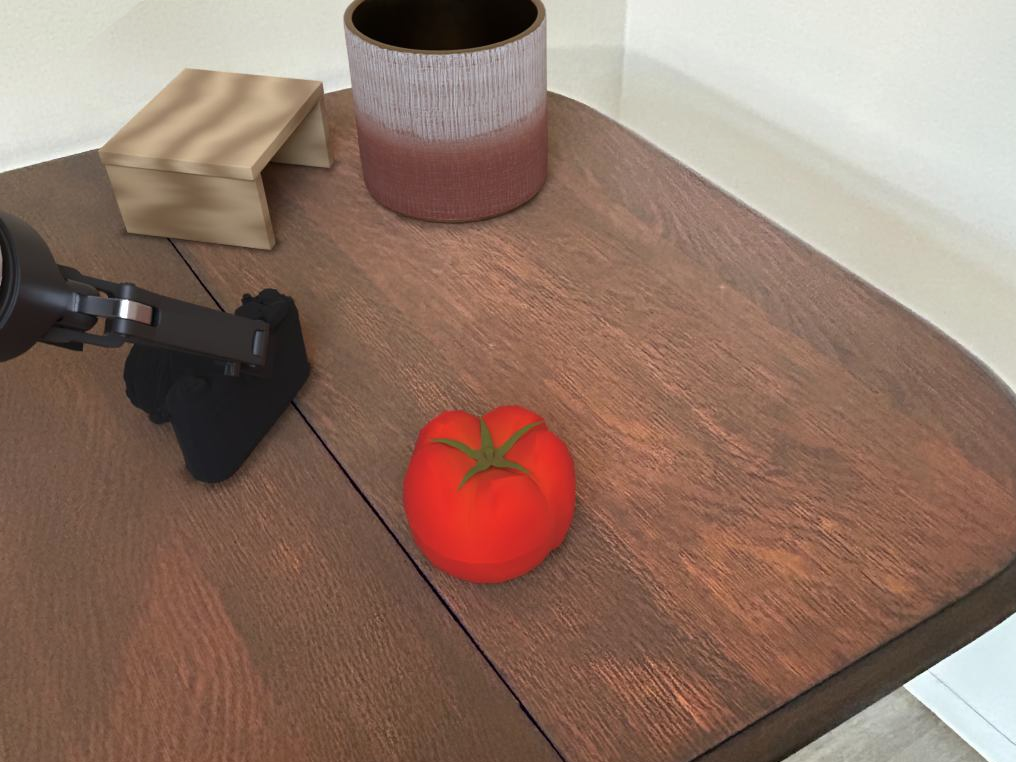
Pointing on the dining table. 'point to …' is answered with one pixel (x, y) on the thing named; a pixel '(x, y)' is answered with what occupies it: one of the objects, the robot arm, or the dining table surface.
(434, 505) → the tomato
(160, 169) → the shelf
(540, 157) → the planter
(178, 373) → the film camera
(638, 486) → the dining table surface
